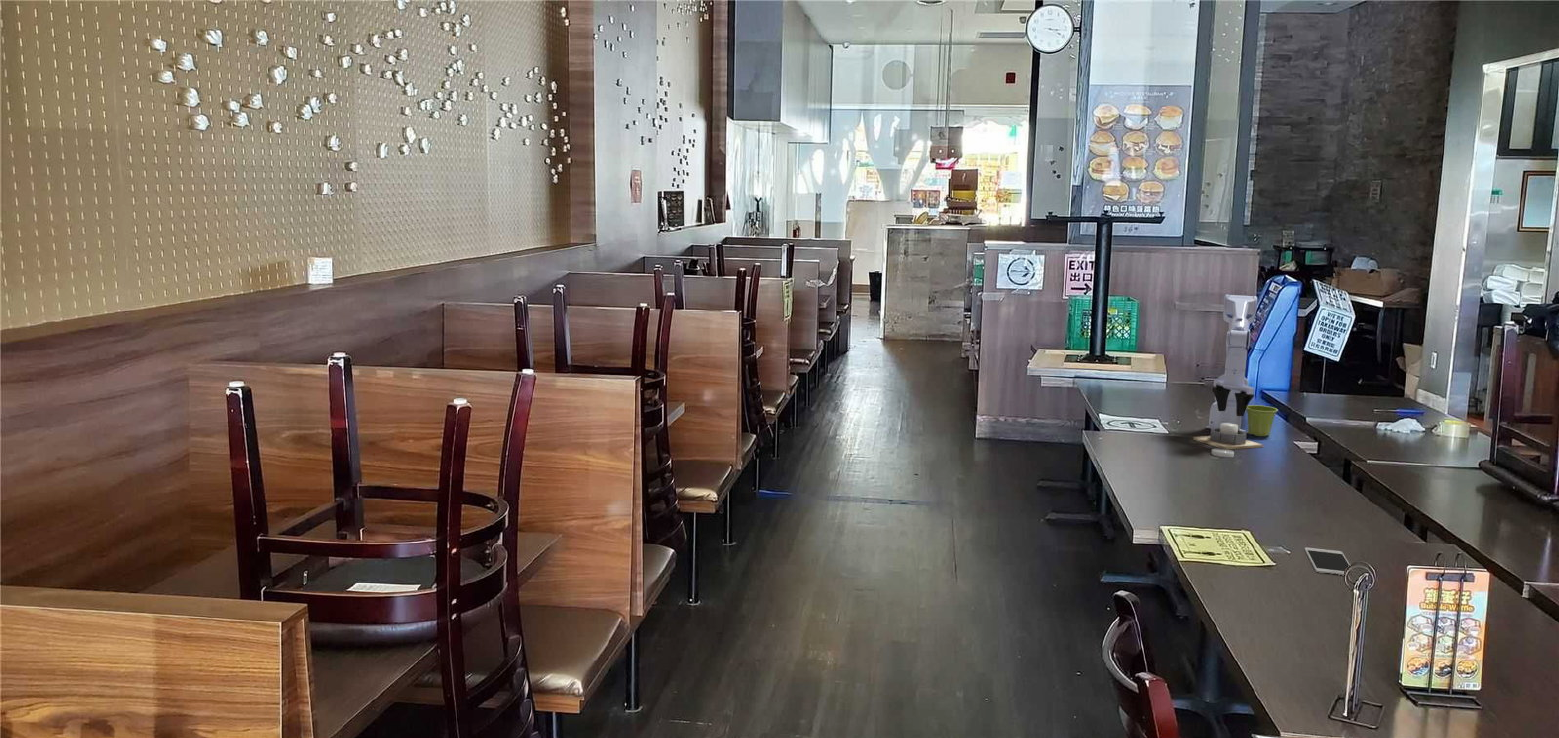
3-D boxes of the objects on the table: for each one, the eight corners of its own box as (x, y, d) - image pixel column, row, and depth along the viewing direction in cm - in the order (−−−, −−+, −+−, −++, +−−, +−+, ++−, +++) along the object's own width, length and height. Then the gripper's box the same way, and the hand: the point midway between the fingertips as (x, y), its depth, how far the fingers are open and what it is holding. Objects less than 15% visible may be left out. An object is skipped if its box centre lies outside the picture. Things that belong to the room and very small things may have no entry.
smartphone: (1341, 555, 221) (1341, 550, 221) (1356, 579, 207) (1356, 574, 206) (1303, 551, 223) (1304, 546, 223) (1315, 574, 209) (1316, 570, 209)
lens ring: (1203, 438, 326) (1204, 428, 325) (1228, 436, 329) (1229, 427, 328) (1226, 445, 316) (1227, 435, 316) (1253, 443, 320) (1253, 434, 319)
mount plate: (1193, 439, 327) (1193, 437, 327) (1228, 437, 332) (1229, 434, 332) (1226, 449, 314) (1226, 447, 314) (1262, 447, 319) (1263, 444, 319)
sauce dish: (1206, 454, 309) (1207, 449, 309) (1222, 453, 311) (1223, 448, 311) (1222, 459, 303) (1222, 454, 303) (1238, 457, 306) (1238, 452, 305)
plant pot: (1278, 438, 332) (1281, 411, 330) (1247, 436, 333) (1250, 410, 332) (1269, 432, 341) (1272, 406, 339) (1239, 430, 342) (1241, 404, 341)
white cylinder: (1215, 439, 324) (1216, 423, 323) (1228, 438, 326) (1230, 422, 325) (1227, 442, 320) (1228, 426, 319) (1240, 442, 321) (1241, 426, 320)
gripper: (1207, 366, 324) (1203, 409, 327) (1242, 373, 311) (1238, 418, 313) (1225, 365, 327) (1221, 408, 329) (1261, 373, 313) (1256, 417, 316)
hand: (1230, 413), depth 321 cm, fingers open, 7 cm apart
